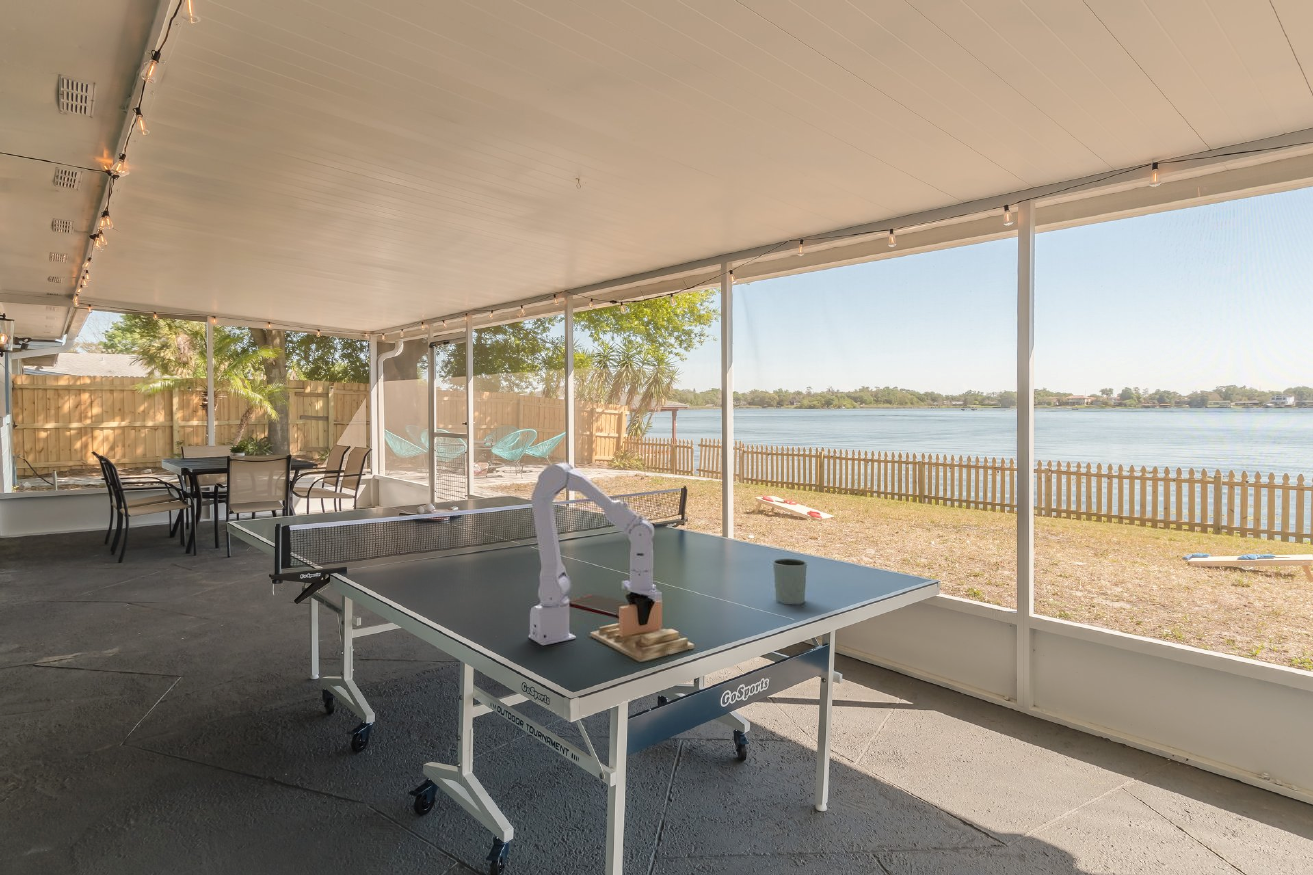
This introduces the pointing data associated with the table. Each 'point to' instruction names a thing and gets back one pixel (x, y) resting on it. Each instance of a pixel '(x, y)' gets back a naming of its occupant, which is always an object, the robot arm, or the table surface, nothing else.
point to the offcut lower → (641, 645)
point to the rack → (627, 643)
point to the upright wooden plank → (630, 620)
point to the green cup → (790, 580)
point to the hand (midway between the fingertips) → (640, 623)
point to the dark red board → (599, 604)
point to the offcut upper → (659, 636)
